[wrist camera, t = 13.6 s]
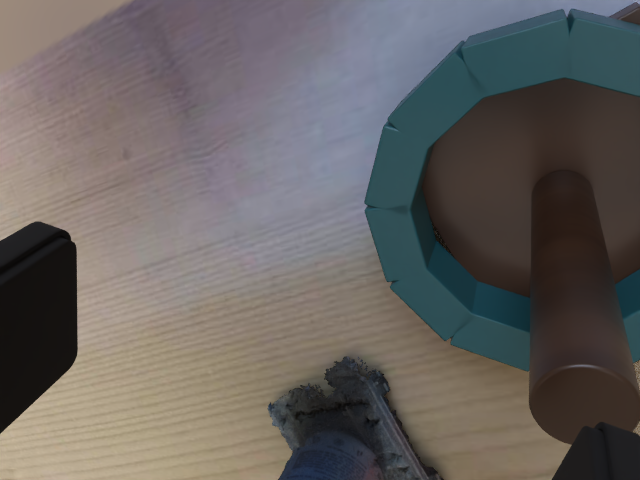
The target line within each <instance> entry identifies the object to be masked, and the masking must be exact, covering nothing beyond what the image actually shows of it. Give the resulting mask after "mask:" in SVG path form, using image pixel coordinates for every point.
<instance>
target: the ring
mask: <svg viewBox="0 0 640 480" xmlns="http://www.w3.org/2000/svg"><path fill="white" fill-rule="evenodd" d="M562 78H566V79H570V80H574V81H578V82H582V83H586V84H590V85H594V86H598V87H601V88H605V89H609V90H613V91H617V92H621V93H625V94H629V95H632V96H636V97H640V25H638V24H634V23H630V22H626V21H621V20H617V19H613V18H609V17H605V16H600V15H596V14H592V13H588V12H583V11H579V10H575V9H571V10H570V11H569V14H568V17H566V15H565V12H564V10H563V9H561V10H557V11H554V12H550V13H547V14H544V15H540V16H537V17H533V18H530V19H527V20H523V21H520V22H516V23H513V24H510V25H506V26H503V27H499V28H496V29H493V30H489V31H486V32H482V33H479V34H476V35H472V36H469V37H468V39H467V40H466V42H464V41H461V42H460V43H459V44H458V45H457V46H456V47H455V48H454V49H453V50H452V51H451V52H450V53H449V54H448V55H447V56H446V57H445V58H444V59H443V60H442V61H441V62H440V63H439V64H438V65H437V66H436V67H435V68H434V69H433V70H432V71H431V72H430V73H429V74H428V75H427V76H426V77H425V78H424V79H423V80H422V81H421V82H420V83H419V84H418V85H417V86H416V87H415V88H414V89H413V90H412V91H411V92H410V93H409V94H408V95H407V96H406V97H405V98H404V99H403V100H402V101H401V103H400V104H399V105H398V106H397V107H396V109H395V110H394V111H393V112H392V114H391V115H390V116H389V117H388V122H387V123H386V124H385V125H384V127H383V130H382V134H381V138H380V142H379V146H378V150H377V154H376V158H375V162H374V166H373V170H372V174H371V178H370V182H369V186H368V189H367V193H366V197H365V201H364V202H365V204H366V205H368V206H367V208H366V209H365V214H366V217H367V220H368V224H369V227H370V230H371V233H372V236H373V240H374V243H375V246H376V249H377V253H378V256H379V259H380V262H381V265H382V269H383V272H384V275H385V278H386V281H387V282H392V283H391V286H390V288H391V289H392V290H393V291H394V292H395V293H396V294H397V295H398V296H399V297H400V298H401V299H402V300H403V301H404V302H405V303H406V304H407V305H408V306H409V307H410V308H411V309H412V310H413V311H414V312H415V313H416V314H417V315H418V316H419V317H420V318H421V319H422V320H424V321H425V322H426V323H427V324H428V325H429V326H430V327H431V328H432V329H433V330H434V331H435V332H436V333H437V334H438V335H439V336H440V337H441V338H442V339H443V340H444V341H446V340H448V339H449V338H451V337H452V338H451V345H453V346H456V347H459V348H461V349H464V350H467V351H470V352H473V353H476V354H479V355H482V356H484V357H487V358H490V359H493V360H496V361H499V362H502V363H505V364H507V365H510V366H513V367H516V368H519V369H522V370H525V371H529V364H530V298H528V297H525V296H522V295H519V294H516V293H513V292H510V291H507V290H504V289H501V288H497V287H494V286H491V285H488V284H485V283H482V282H479V281H477V280H476V279H475V278H474V277H473V276H472V275H471V274H470V273H469V272H468V271H467V270H466V269H465V268H464V267H463V266H462V265H461V264H460V263H459V262H458V261H457V260H456V259H455V258H454V257H453V256H452V255H451V254H450V253H449V252H448V251H447V250H446V249H445V248H443V247H442V246H441V245H440V244H439V243H438V242H437V241H436V238H435V234H434V230H433V227H432V223H431V219H430V216H429V212H428V208H427V205H426V201H425V197H424V194H423V190H422V183H423V180H424V177H425V173H426V170H427V167H428V164H429V160H430V157H431V154H432V150H433V147H434V144H435V142H436V141H437V140H439V139H440V138H441V137H442V136H443V135H444V134H445V133H446V132H447V131H448V130H449V129H451V128H452V127H453V126H454V125H455V124H456V123H457V122H458V121H459V120H460V119H461V118H463V117H464V116H465V115H466V114H467V113H468V112H469V111H470V110H471V109H472V108H473V107H475V106H476V105H477V104H478V103H479V102H480V101H481V100H482V99H483V98H486V97H490V96H494V95H498V94H502V93H506V92H510V91H514V90H518V89H522V88H526V87H530V86H534V85H538V84H542V83H546V82H550V81H554V80H558V79H562ZM615 287H616V291H617V296H618V300H619V304H620V309H621V313H622V317H623V322H624V326H625V330H626V334H627V339H628V343H629V347H630V352H631V356H632V360H633V363H635V362H637V361H639V360H640V269H639V270H637V271H636V272H634V273H633V274H631V275H629V276H628V277H626V278H625V279H623V280H621V281H620V282H618V283H616V284H615Z"/></svg>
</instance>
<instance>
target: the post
mask: <svg viewBox="0 0 640 480" xmlns="http://www.w3.org/2000/svg"><path fill="white" fill-rule="evenodd" d="M609 18H613V19H617V20H621V21H626V22H630V23H634V24H638V25H640V5H639V4H638V3H633V4H631V5H630V6H628V7H626V8H624V9H623V10H621V11H619V12H617V13H615V14H614V15H612V16H610V17H609ZM422 190H423V194H424V197H425V201H426V205H427V208H428V212H429V216H430V219H431V221H432V223H433V225H434V226H435V228H436V229H437V231H438V233H439V234H440V236H441V238H442V239H443V241H444V243H445V244H446V246H447V248H448V249H449V251H450V252H451V254H452V256H453V257H454V258H455V259H456V260H457V261H458V262H459V263H460V264H461V265H462V266H463V267H464V268H465V269H466V270H467V271H468V272H469V273H470V274H471V275H472V276H473V277H474V278H475V279H476V280H477V281H479V282H482V283H485V284H488V285H491V286H494V287H497V288H501V289H504V290H507V291H510V292H513V293H516V294H519V295H522V296H525V297H528V298H530V364H529V406H530V410H531V413H532V415H533V417H534V419H535V420H536V422H537V423H538V425H539V426H540V427H541V428H542V429H543V430H544V431H545V432H546V433H548V434H549V435H551V436H552V437H554V438H556V439H558V440H560V441H562V442H564V443H567V444H571V445H572V444H573V442H574V441H575V439H576V437H577V436H578V434H579V432H580V431H581V429H582V428H583V427H584V426H589V427H591V428H594V427H595V426H596V425H597V424H598V423H599V422H605V423H607V424H610V425H613V426H616V427H619V428H622V429H624V430H627V431H630V432H633V431H634V429H635V428H636V427H637V425H638V423H639V421H640V391H639V386H638V382H637V378H636V373H635V369H634V365H633V360H632V356H631V352H630V347H629V343H628V339H627V334H626V330H625V326H624V322H623V317H622V313H621V309H620V304H619V300H618V296H617V291H616V287H615V284H616V283H618V282H620V281H621V280H623V279H625V278H626V277H628V276H629V275H631V274H633V273H634V272H636V271H637V270H639V269H640V97H636V96H632V95H629V94H625V93H621V92H617V91H613V90H609V89H605V88H601V87H598V86H594V85H590V84H586V83H582V82H578V81H574V80H570V79H566V78H562V79H558V80H554V81H550V82H546V83H542V84H538V85H534V86H530V87H526V88H522V89H518V90H514V91H510V92H506V93H502V94H498V95H494V96H490V97H486V98H483V99H482V100H481V101H480V102H479V103H478V104H477V105H476V106H475V107H473V108H472V109H471V110H470V111H469V112H468V113H467V114H466V115H465V116H464V117H463V118H461V119H460V120H459V121H458V122H457V123H456V124H455V125H454V126H453V127H452V128H451V129H449V130H448V131H447V132H446V133H445V134H444V135H443V136H442V137H441V138H440V139H439V140H437V141H436V142H435V144H434V147H433V150H432V154H431V157H430V160H429V164H428V167H427V170H426V173H425V177H424V180H423V183H422Z"/></svg>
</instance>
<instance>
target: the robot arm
mask: <svg viewBox="0 0 640 480" xmlns="http://www.w3.org/2000/svg"><path fill="white" fill-rule="evenodd" d="M77 350H78V347H77V252H76V245H75V243H74V242H72V241H71V237H70V235H69V233H68V232H66V231H65V230H62V229H59V228H56V227H54V226H51V225H48V224H45V223H42V222H34V223H31V224H29V225H28V226H26V227H24V228H22V229H21V230H19V231H17V232H15V233H14V234H12V235H10V236H8V237H7V238H5V239H3V240H1V241H0V433H2V432H3V431H4V430H5V429H6V428H7V427H8V426H9V425H10V424H11V423H12V422H13V421H14V420H15V419H16V418H18V417H19V416H20V415H21V414H22V413H23V412H24V411H25V410H26V409H27V408H28V407H29V406H30V405H31V404H33V403H34V402H35V401H36V400H37V399H38V398H39V397H40V396H41V395H42V394H43V393H44V392H45V391H46V390H47V389H49V388H50V387H51V386H52V385H53V384H54V383H55V382H56V381H57V380H58V379H59V378H60V377H61V376H62V375H64V374H65V373H66V372H67V371H68V370H69V369H70V367H71V366H72V365H73V363H74V361H75V359H76V356H77ZM552 480H640V436H639V435H638V434H636V433H633V432H630V431H627V430H624V429H622V428H619V427H616V426H613V425H610V424H607V423H605V422H599V423H598V424H597V425H596V426H595V427H594V428H591V427H589V426H584V427H583V428H582V429H581V431H580V432H579V434H578V436H577V437H576V439H575V441H574V442H573V444H572V446H571V448H570V449H569V451H568V453H567V454H566V456H565V458H564V460H563V461H562V463H561V465H560V466H559V468H558V470H557V472H556V473H555V475H554V477H553V479H552Z"/></svg>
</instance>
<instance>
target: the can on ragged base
mask: <svg viewBox="0 0 640 480" xmlns="http://www.w3.org/2000/svg"><path fill="white" fill-rule="evenodd" d="M358 358H359V357H358ZM362 361H363V360H361V361H360V362H362ZM334 363H336V364H335V365H336V366H333V368H330V371H329V369H326V371H327V372H326V373H324V374H325V375H326V376H325V378H324V380H325V379H326V380H327V379H328V380H327V381H329V383H328V384H329V385H330V386H332V387H333V388H335V387H336V388H337V390H335V389H334V390H335V391H333V394H330V395H328V397H327V398H324V397H323V396H324V395H323V393H322V390H321V389H320V390H321V393H320V392H318V390H317V389H318V388H321V387H320V386H319V385H318V386H319V387H316V388H317V389H316V390H317V391H316V390H314V388H313V387H310V384H308V387H306V386H302V385H300V386H301V387H302V388H303V389H301V388H295V389H294V390H293V391H291V390H290V391H289V394H288V395H285V394H284V397H283V396H282V398H281V397H280V399H278V400H277V401H276V402H274V403H273V405H271V402H270V404H269V406H268V407H269V408H268V411H269V413H270V417H272V420H273V423H272V424H273V426H277V427H279V430H281V431H280V432H281V434H282V436H283V437H284V438H286V442H287V443H288V445H289V447H290V448H291V450H292V451H293V453H292V456H291V458H290V460H288V461H287V463H286V465H285V469H284V471H283V472H282V474H281V476H280V478H279V479H278V480H444V479H443V478H442V477H440V476H439V475H438V472H437V471H436V470H435V469H434V468H433V467H427V466H425V465H423V464H422V463H421V462H420V457H417V454H415V453H414V450H413V449H412V448H411V447H412V444H411V445H410V443H409V442H408V441H409V440H408V435H406V433H405V432H404V430H403V429H402V423H401V421H400V420H399V419H398V418H397V416H396V410H394V411H391V412H390V410H391V408H390V407H389V404H388V402H389V401H388V400H387V399H386V398H385V396H384V395H385V394H386V393H387V392H389V391H390V387H389V386H388V382H387V381H386V379H385V378H384V377H383V375H384V374H381V373H380V371H378V372H377V371H376V370H372V372H373V371H376V372H375V373H372V372H371V373H372V374H371V375H370V374H369V375H370V377H369V380H367V379H366V377H363V376H360V375H359V374H358V364H357V363H356V362H355V361H354V359H353V360H351V361H350V358H349V357H346V358H345V357H344V358H343V360H342V362H340V363H339V362H337V361H335V362H334ZM364 364H366V362H365V363H364ZM362 366H363V362H362V365H361V366H360V367H362ZM367 367H368V366H366V368H365V369H364V370H366V369H367ZM361 369H362V368H361ZM366 371H367V370H366ZM369 372H370V371H369ZM369 372H368V373H369ZM359 373H360V372H359ZM368 373H367V374H366V375H367V376H368ZM313 386H314V385H313ZM315 386H317V385H315ZM309 387H310V388H309ZM320 394H321V395H320ZM316 395H318V397H317V396H316ZM322 395H323V396H322ZM332 395H333V396H332ZM319 396H321V397H319ZM387 401H388V402H387Z"/></svg>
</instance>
